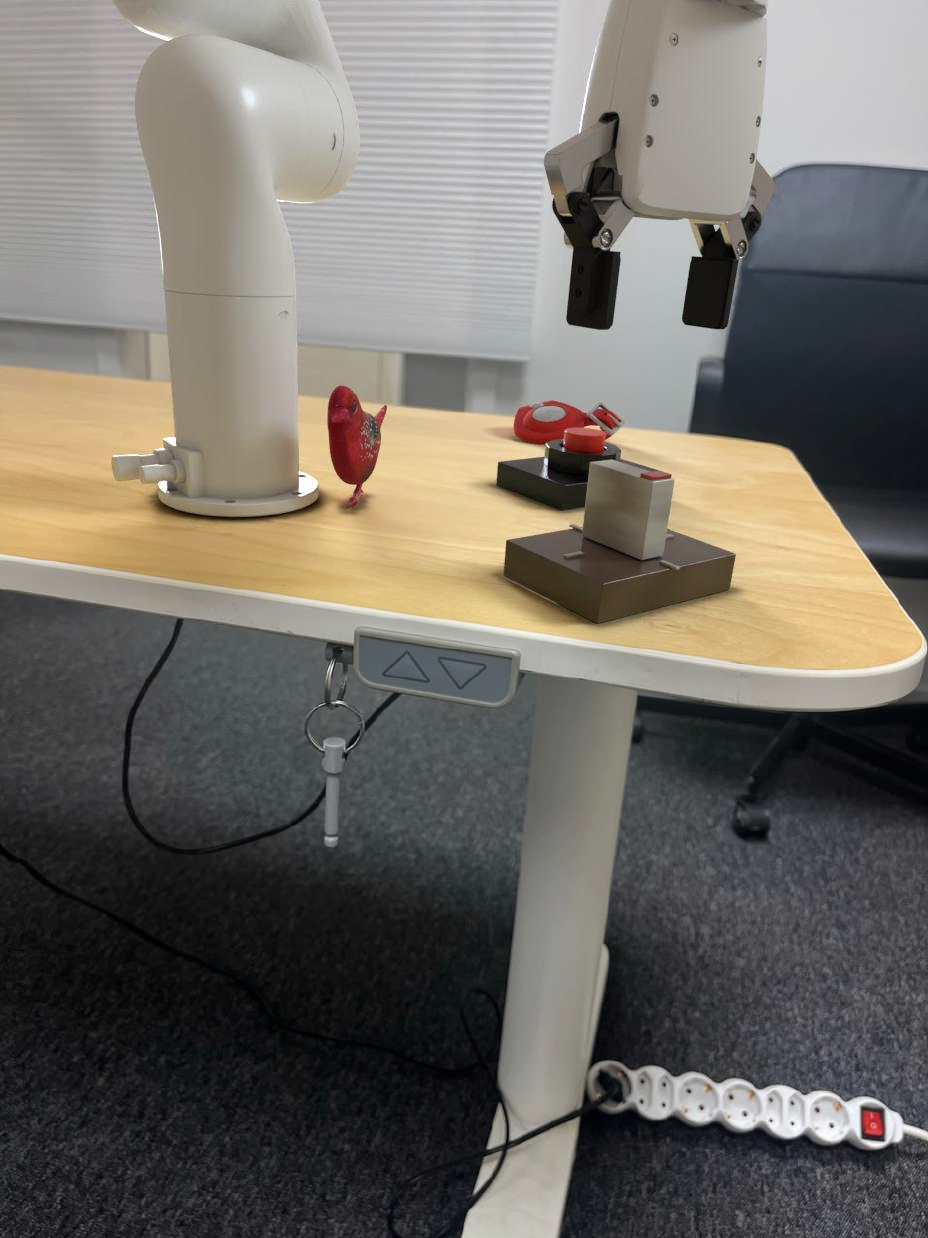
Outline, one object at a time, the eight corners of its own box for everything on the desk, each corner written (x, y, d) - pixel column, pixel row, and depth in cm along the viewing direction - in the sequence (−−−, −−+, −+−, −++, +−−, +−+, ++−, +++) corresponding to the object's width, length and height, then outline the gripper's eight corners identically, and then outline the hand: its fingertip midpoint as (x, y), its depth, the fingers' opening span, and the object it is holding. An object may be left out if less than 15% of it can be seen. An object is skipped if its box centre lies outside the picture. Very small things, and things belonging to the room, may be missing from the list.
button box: (561, 511, 74) (566, 463, 72) (495, 485, 80) (498, 441, 79) (661, 495, 80) (667, 451, 79) (592, 472, 87) (597, 431, 85)
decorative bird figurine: (314, 525, 66) (312, 388, 62) (369, 471, 82) (371, 360, 78) (351, 529, 66) (352, 391, 62) (400, 474, 82) (403, 362, 78)
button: (581, 457, 77) (583, 436, 76) (554, 448, 79) (556, 428, 79) (611, 453, 79) (614, 433, 78) (584, 445, 81) (586, 426, 81)
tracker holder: (527, 436, 96) (498, 398, 103) (529, 472, 98) (501, 432, 106) (631, 411, 97) (595, 376, 105) (630, 447, 100) (595, 410, 108)
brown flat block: (601, 626, 52) (607, 583, 51) (499, 574, 59) (502, 535, 58) (734, 591, 58) (741, 552, 57) (628, 548, 65) (633, 513, 64)
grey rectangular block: (581, 536, 59) (590, 458, 57) (603, 532, 60) (612, 455, 58) (641, 560, 55) (653, 477, 53) (663, 556, 56) (676, 474, 54)
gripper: (744, 20, 53) (697, 320, 60) (519, -46, 44) (494, 320, 50) (857, 1, 48) (792, 333, 54) (629, -81, 38) (583, 335, 45)
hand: (648, 326), depth 52 cm, fingers open, 9 cm apart
